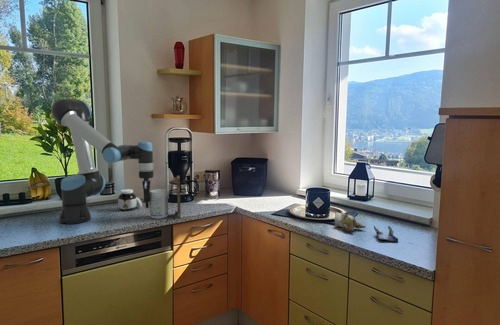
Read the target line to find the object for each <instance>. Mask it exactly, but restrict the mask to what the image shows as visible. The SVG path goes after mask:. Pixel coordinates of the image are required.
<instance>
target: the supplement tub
mask: <svg viewBox="0 0 500 325" xmlns="http://www.w3.org/2000/svg"><path fill="white" fill-rule="evenodd" d="M168 196H169V195H168V190H167V189H164V188H157V189H156V188H155V189H152V190H151V189H150V217H151V219H157V220H158V219H159V220H160V219H164V218H167V217H168V216H169V197H168Z"/></svg>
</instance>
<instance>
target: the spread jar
mask: <svg viewBox="0 0 500 325" xmlns="http://www.w3.org/2000/svg"><path fill="white" fill-rule="evenodd" d="M117 205H118V209H119V210H121V211H123V212H128V211H134V210H135V209H136V207H137V208H138V209H140V208H142V207H143V201H142V200H141V199H140V197H137V196H136V194H135V193H134V190H133V189H131V188H127V189H121V190H120V194H119V195H118V197H117Z"/></svg>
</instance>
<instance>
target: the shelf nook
mask: <svg viewBox="0 0 500 325" xmlns="http://www.w3.org/2000/svg"><path fill="white" fill-rule="evenodd" d="M180 176H181V175H176V176H175V177H170V178H169V179H170V181H169V182H170V184H176V194H177V196H176V198H177V202H176V203H177V205H176V206H177V211H174V219H175V220H177V219H181V218H182V217H181V215H182V214H181V178H180Z"/></svg>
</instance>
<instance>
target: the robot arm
mask: <svg viewBox="0 0 500 325" xmlns="http://www.w3.org/2000/svg"><path fill="white" fill-rule="evenodd" d="M50 110H51V115H52V117H53V119H55V121H57V122H58V123H59V124H61V126H63V127H67V128H68V129H70V133H71V138H72V143H73V147H74V154H75V158H76V162H77V167H78V171H77V173H76V174H74V175H73V174H72V175H69V176H65V177H64V178H62V179H61V181H60V190H61V192H60V193H61V206H62V208H61V212H60V215H59V223H60V222H61V223H60V224H62V223H66V224H65V225H74V223H77V224H81V223H86V222H89V221H90V220H91V219H92V215H91V212H90V210H89V207H88V205H87V204H88V203H87V198H88V197H92V196H97V195H98V194H100V193H102V192H103V191H104V189H105V187H106V178H105V177H104V176H103V174H101V173H100V169H98V168H96V165H95V164H96V163H95V161H94V160H95V159H94V155H93V150H92V149H93V148H94V149H95V150H97V151H98V152H99V153H100V154H102V158H103V160H104V161H105V162H106V163H110V164H111V163H117V162H122V161H127V160H137V162H138V164H137V165H138V170H139V171H138V178H139V179H143V180H142V190H143V201H142V203H144V214H145V215H147V214H150V215H151V213H150V191H151V180H150V179H152V178H153V179H154V166H155V164H154V159H153V158H154V157H153V156H154V155H153V154H154V153H153V151H154V150H153V143H152V142H151V141H138V143H137V145H132V144H131V145H128V144H121V145H120V144H119V145H118V146H117V145H116V144H114V142H112V141H111V140H110V139H108V138H107V137H105V136H104V135H103V134H102V133H100V132H99V131H98V130H97V129H95V128H94V127H93V126H91V125H90V120H89V119H90V118H91V116H92V109H91V106H90V104H88V103H87V102H86V101H84V100H81V99H78V98H77V99H75V98H74V99H71V98H69V99H67V98H60V99H57V100H56V101H54V102H53V103H52V105H51V109H50ZM92 147H93V148H92Z"/></svg>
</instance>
